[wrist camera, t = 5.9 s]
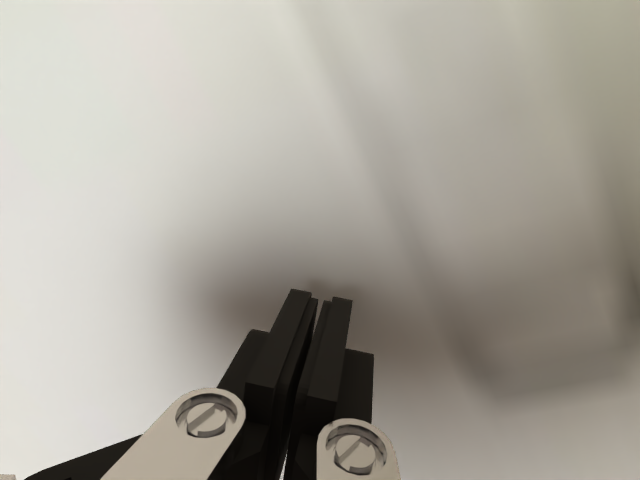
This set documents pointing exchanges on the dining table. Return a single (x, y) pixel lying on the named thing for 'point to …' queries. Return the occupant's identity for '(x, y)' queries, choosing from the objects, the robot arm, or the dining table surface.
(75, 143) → the dining table surface
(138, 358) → the dining table surface
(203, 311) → the dining table surface
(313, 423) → the robot arm
